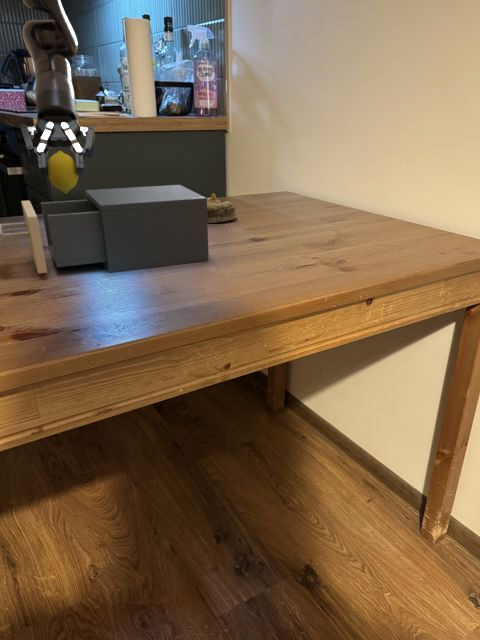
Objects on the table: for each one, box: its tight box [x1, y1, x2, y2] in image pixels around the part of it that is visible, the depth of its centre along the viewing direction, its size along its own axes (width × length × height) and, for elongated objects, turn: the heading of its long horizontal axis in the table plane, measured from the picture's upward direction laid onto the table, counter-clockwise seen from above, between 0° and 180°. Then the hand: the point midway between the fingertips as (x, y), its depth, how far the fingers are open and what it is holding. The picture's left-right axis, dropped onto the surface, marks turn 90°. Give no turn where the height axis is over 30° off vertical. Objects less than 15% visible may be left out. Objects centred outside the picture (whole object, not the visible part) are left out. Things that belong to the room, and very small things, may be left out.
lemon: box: [47, 150, 79, 194], centre depth 98 cm, size 6×6×8 cm
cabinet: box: [84, 184, 210, 274], centre depth 80 cm, size 16×13×10 cm
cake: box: [206, 192, 238, 224], centre depth 105 cm, size 10×10×5 cm
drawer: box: [0, 199, 107, 274], centre depth 74 cm, size 19×12×8 cm, turn 117°
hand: (62, 172), depth 96 cm, fingers closed on lemon, 5 cm apart
